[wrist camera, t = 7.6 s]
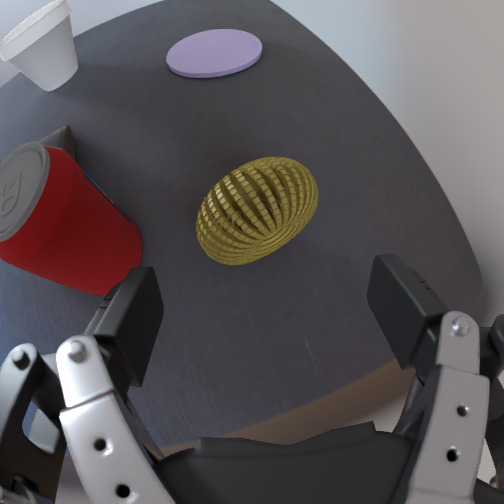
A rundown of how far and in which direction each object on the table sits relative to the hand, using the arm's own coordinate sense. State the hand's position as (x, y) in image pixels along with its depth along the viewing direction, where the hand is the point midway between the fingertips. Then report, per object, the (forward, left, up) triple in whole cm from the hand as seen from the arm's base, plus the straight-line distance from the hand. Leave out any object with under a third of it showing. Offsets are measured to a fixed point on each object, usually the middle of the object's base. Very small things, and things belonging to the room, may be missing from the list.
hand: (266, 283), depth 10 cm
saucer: (+4, -30, -10) cm, 32 cm away
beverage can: (+12, -4, -10) cm, 16 cm away
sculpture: (0, -5, -10) cm, 11 cm away
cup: (+30, -35, -10) cm, 47 cm away
